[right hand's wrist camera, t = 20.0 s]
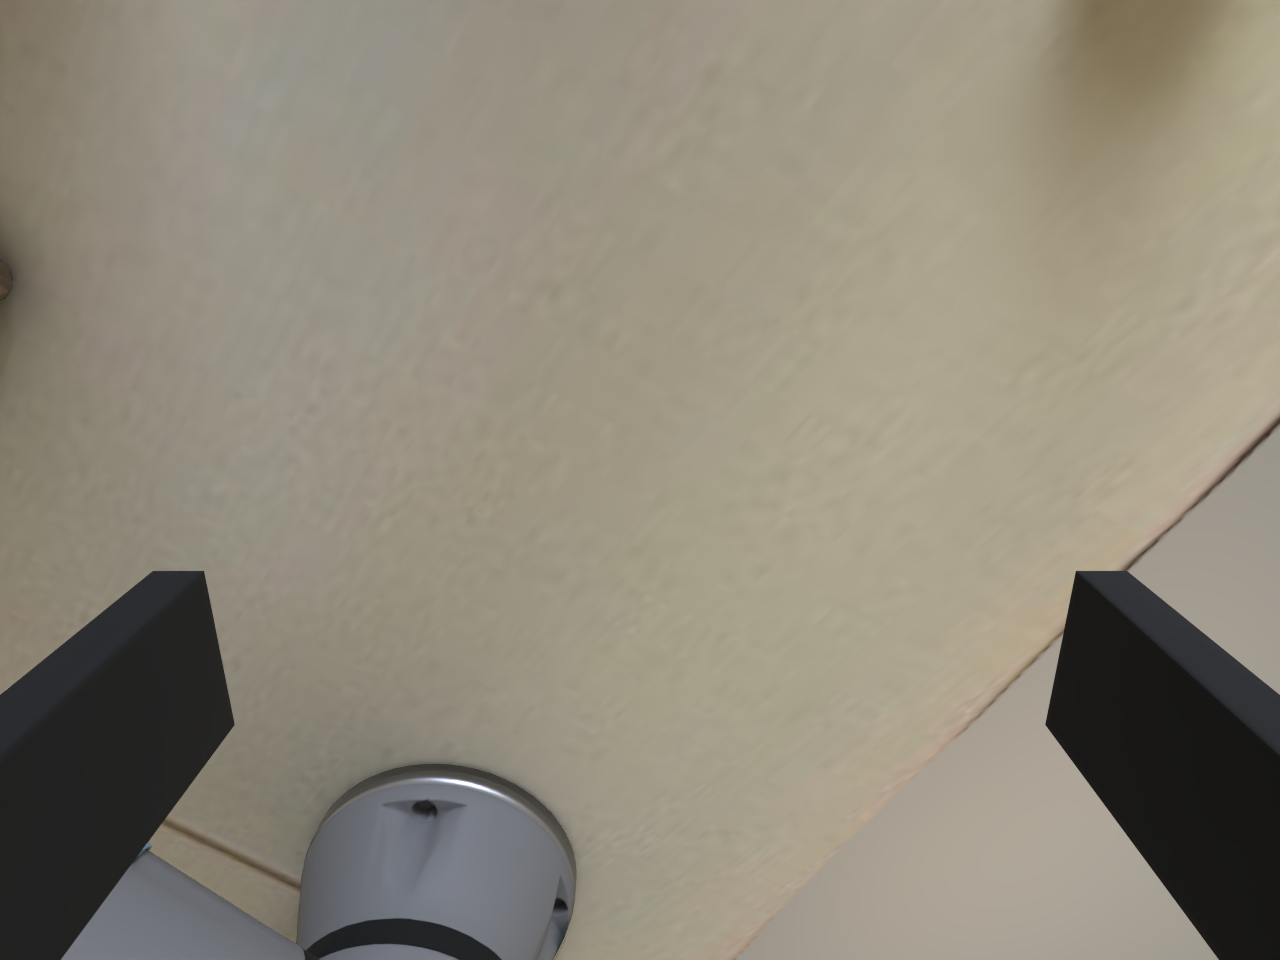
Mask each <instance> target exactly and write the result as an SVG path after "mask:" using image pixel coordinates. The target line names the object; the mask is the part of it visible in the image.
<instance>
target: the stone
mask: <svg viewBox="0 0 1280 960" xmlns="http://www.w3.org/2000/svg"><path fill="white" fill-rule="evenodd" d="M12 280H13V278H12V273H11V269H10V268H9V267H8V266H7V265H6V264H5V263H4V262H3V261H1V260H0V300H1V299H4V298H6V297H7V295H8V293H9V292H10V290H11V288H12Z"/></svg>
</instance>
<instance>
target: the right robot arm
mask: <svg viewBox="0 0 1280 960" xmlns="http://www.w3.org/2000/svg"><path fill="white" fill-rule="evenodd" d="M234 725H235V724H234V719H233V714H232V709H231V704H230V699H229V694H228V689H227V684H226V679H225V674H224V669H223V664H222V659H221V654H220V649H219V644H218V639H217V634H216V629H215V624H214V619H213V614H212V609H211V604H210V599H209V594H208V589H207V584H206V579H205V574H204V571H153V572H151V573H150V574H149V575H148V576H146V577H145V578H144V579H143V580H142V581H140V582H139V583H138V584H137V585H135V586H134V587H133V588H132V589H130V590H129V591H128V592H127V593H125V594H124V595H123V596H122V597H121V598H119V599H118V600H117V601H116V602H114V603H113V604H112V605H111V606H109V607H108V608H107V609H106V610H105V611H103V612H102V613H101V614H100V615H98V616H97V617H96V618H95V619H93V620H92V621H91V622H90V623H89V624H87V625H86V626H85V627H84V628H82V629H81V630H80V631H79V632H77V633H76V634H75V635H74V636H73V637H71V638H70V639H69V640H68V641H66V642H65V643H64V644H63V645H61V646H60V647H59V648H58V649H56V650H55V651H54V652H53V653H52V654H50V655H49V656H48V657H47V658H45V659H44V660H43V661H42V662H40V663H39V664H38V665H37V666H36V667H34V668H33V669H32V670H31V671H29V672H28V673H27V674H26V675H24V676H23V677H22V678H21V679H20V680H18V681H17V682H16V683H15V684H13V685H12V686H11V687H10V688H8V689H7V690H6V691H5V692H3V693H2V694H1V695H0V960H553V959H554V957H555V955H556V953H557V951H558V949H559V947H560V945H561V943H562V941H563V939H564V937H565V934H566V931H567V929H568V926H569V923H570V920H571V917H572V913H573V907H574V899H575V888H576V863H575V858H574V854H573V850H572V847H571V845H570V842H569V840H568V838H567V836H566V834H565V832H564V830H563V829H562V827H561V825H560V824H559V822H558V821H557V820H556V819H555V817H554V816H553V815H552V814H551V812H550V811H549V810H548V809H547V808H546V807H545V806H544V805H543V804H541V803H540V802H539V801H538V800H537V799H536V798H534V797H533V796H532V795H530V794H529V793H527V792H526V791H525V790H523V789H521V788H520V787H518V786H516V785H515V784H513V783H511V782H509V781H507V780H505V779H502V778H500V777H498V776H495V775H492V774H490V773H487V772H483V771H480V770H476V769H472V768H467V767H462V766H455V765H444V764H424V765H413V766H406V767H401V768H396V769H392V770H389V771H386V772H383V773H380V774H377V775H375V776H373V777H370V778H368V779H366V780H364V781H363V782H361V783H359V784H357V785H356V786H354V787H353V788H351V789H350V790H349V791H347V792H346V793H345V794H344V795H342V796H341V797H340V798H339V799H338V800H337V801H336V802H335V803H334V804H333V806H332V807H331V808H330V809H329V811H328V812H327V813H326V815H325V817H324V818H323V820H322V822H321V824H320V826H319V828H318V830H317V832H316V834H315V836H314V838H313V840H312V842H311V844H310V847H309V849H308V851H307V854H306V858H305V861H304V867H303V872H302V877H301V888H300V902H299V913H298V927H297V940H296V943H294V942H292V941H291V940H289V939H287V938H286V937H284V936H282V935H281V934H279V933H277V932H276V931H274V930H272V929H271V928H269V927H267V926H266V925H264V924H263V923H261V922H260V921H258V920H256V919H255V918H253V917H252V916H250V915H249V914H247V913H245V912H244V911H242V910H241V909H239V908H238V907H236V906H235V905H233V904H231V903H230V902H228V901H227V900H225V899H224V898H222V897H220V896H219V895H217V894H216V893H214V892H213V891H211V890H209V889H208V888H206V887H205V886H203V885H202V884H200V883H199V882H197V881H195V880H194V879H192V878H191V877H189V876H188V875H186V874H184V873H183V872H181V871H180V870H178V869H177V868H175V867H173V866H172V865H170V864H169V863H167V862H166V861H164V860H163V859H161V858H159V857H158V856H156V855H155V854H153V853H152V852H150V851H148V850H149V849H151V847H152V846H151V845H150V844H149V843H148V841H149V840H150V838H151V837H152V836H153V834H154V833H155V832H156V830H157V829H158V828H159V826H160V825H161V824H162V822H163V821H164V820H165V818H166V817H167V815H168V814H169V813H170V811H171V810H172V809H173V807H174V806H175V805H176V803H177V802H178V801H179V799H180V798H181V797H182V795H183V794H184V792H185V791H186V790H187V788H188V787H189V786H190V784H191V783H192V782H193V780H194V779H195V778H196V776H197V775H198V774H199V772H200V771H201V769H202V768H203V767H204V765H205V764H206V763H207V761H208V760H209V759H210V757H211V756H212V755H213V753H214V752H215V751H216V749H217V748H218V746H219V745H220V744H221V742H222V741H223V740H224V738H225V737H226V736H227V734H228V733H229V732H230V730H231V729H232V728H233V726H234ZM1046 726H1047V727H1048V729H1049V730H1050V732H1051V733H1052V734H1053V736H1054V737H1055V738H1056V740H1057V741H1058V742H1059V744H1060V745H1061V746H1062V748H1063V749H1064V751H1065V752H1066V753H1067V755H1068V756H1069V757H1070V759H1071V760H1072V761H1073V763H1074V764H1075V765H1076V767H1077V768H1078V769H1079V771H1080V772H1081V774H1082V775H1083V776H1084V778H1085V779H1086V780H1087V782H1088V783H1089V784H1090V786H1091V787H1092V788H1093V790H1094V791H1095V792H1096V794H1097V795H1098V797H1099V798H1100V799H1101V801H1102V802H1103V803H1104V805H1105V806H1106V807H1107V809H1108V810H1109V811H1110V813H1111V814H1112V815H1113V817H1114V818H1115V820H1116V821H1117V822H1118V824H1119V825H1120V826H1121V828H1122V829H1123V830H1124V832H1125V833H1126V834H1127V836H1128V837H1129V838H1130V840H1131V841H1132V843H1133V844H1134V845H1135V847H1136V848H1137V849H1138V851H1139V852H1140V853H1141V855H1142V856H1143V857H1144V859H1145V860H1146V861H1147V863H1148V864H1149V866H1150V867H1151V868H1152V870H1153V871H1154V872H1155V874H1156V875H1157V876H1158V878H1159V879H1160V880H1161V882H1162V883H1163V885H1164V886H1165V887H1166V889H1167V890H1168V891H1169V893H1170V894H1171V895H1172V897H1173V898H1174V899H1175V901H1176V902H1177V903H1178V905H1179V906H1180V907H1181V909H1182V910H1183V912H1184V913H1185V914H1186V916H1187V917H1188V918H1189V920H1190V921H1191V922H1192V924H1193V925H1194V926H1195V928H1196V929H1197V930H1198V932H1199V933H1200V934H1201V936H1202V937H1203V939H1204V940H1205V941H1206V943H1207V944H1208V945H1209V947H1210V948H1211V949H1212V951H1213V952H1214V954H1215V955H1216V956H1217V958H1218V959H1219V960H1280V695H1279V694H1278V693H1277V692H1275V691H1274V690H1273V689H1272V688H1270V687H1269V686H1268V685H1267V684H1265V683H1264V682H1263V681H1262V680H1260V679H1259V678H1258V677H1257V676H1255V675H1254V674H1253V673H1252V672H1251V671H1249V670H1248V669H1247V668H1246V667H1244V666H1243V665H1242V664H1241V663H1240V662H1238V661H1237V660H1236V659H1235V658H1233V657H1232V656H1231V655H1230V654H1228V653H1227V652H1226V651H1225V650H1224V649H1222V648H1221V647H1220V646H1219V645H1217V644H1216V643H1215V642H1214V641H1212V640H1211V639H1210V638H1209V637H1207V636H1206V635H1205V634H1204V633H1202V632H1201V631H1200V630H1199V629H1198V628H1196V627H1195V626H1194V625H1193V624H1191V623H1190V622H1189V621H1188V620H1187V619H1185V618H1184V617H1183V616H1182V615H1180V614H1179V613H1178V612H1177V611H1175V610H1174V609H1173V608H1172V607H1171V606H1169V605H1168V604H1167V603H1166V602H1164V601H1163V600H1162V599H1161V598H1159V597H1158V596H1157V595H1156V594H1154V593H1153V592H1152V591H1151V590H1150V589H1148V588H1147V587H1146V586H1145V585H1143V584H1142V583H1141V582H1140V581H1138V580H1137V579H1136V578H1135V577H1133V576H1132V575H1131V574H1130V573H1129V572H1127V571H1076V574H1075V579H1074V584H1073V589H1072V594H1071V599H1070V604H1069V609H1068V614H1067V619H1066V624H1065V629H1064V634H1063V639H1062V644H1061V649H1060V654H1059V659H1058V664H1057V669H1056V674H1055V679H1054V684H1053V689H1052V695H1051V699H1050V704H1049V709H1048V714H1047V720H1046ZM561 947H562V946H561ZM560 949H561V948H560ZM559 951H560V950H559ZM558 953H559V952H558ZM557 955H558V954H557ZM556 957H557V956H556ZM555 959H556V958H555Z"/></svg>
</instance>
